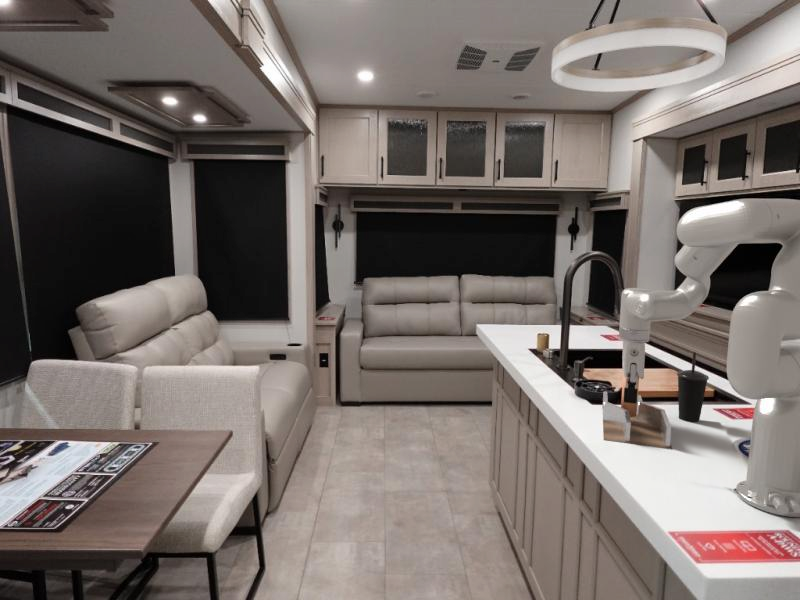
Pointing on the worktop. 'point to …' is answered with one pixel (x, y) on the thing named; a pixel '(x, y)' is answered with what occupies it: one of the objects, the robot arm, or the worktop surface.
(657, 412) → the bent rails
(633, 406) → the peg
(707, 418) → the worktop surface
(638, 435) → the channel board
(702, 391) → the drinking cup
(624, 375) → the robot arm
